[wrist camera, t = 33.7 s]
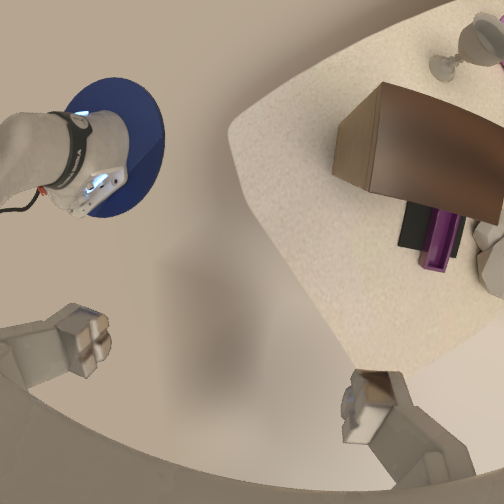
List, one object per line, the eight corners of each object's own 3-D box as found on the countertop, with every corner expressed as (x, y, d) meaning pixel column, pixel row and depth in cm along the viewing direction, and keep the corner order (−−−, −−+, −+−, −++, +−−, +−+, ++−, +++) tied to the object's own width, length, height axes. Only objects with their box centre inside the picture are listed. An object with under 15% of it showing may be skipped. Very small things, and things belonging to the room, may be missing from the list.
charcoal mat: (454, 257, 43) (455, 258, 43) (397, 245, 45) (398, 246, 44) (477, 135, 36) (478, 135, 36) (419, 114, 38) (420, 113, 37)
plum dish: (438, 267, 44) (444, 273, 41) (418, 263, 44) (423, 268, 42) (464, 142, 37) (472, 142, 34) (443, 134, 37) (450, 133, 35)
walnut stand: (403, 190, 42) (498, 226, 17) (331, 174, 43) (368, 192, 19) (411, 141, 39) (511, 131, 15) (338, 124, 41) (382, 81, 16)
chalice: (458, 58, 32) (513, 27, 16) (459, 92, 35) (520, 71, 18) (422, 45, 33) (469, 3, 16) (423, 79, 36) (476, 47, 19)
